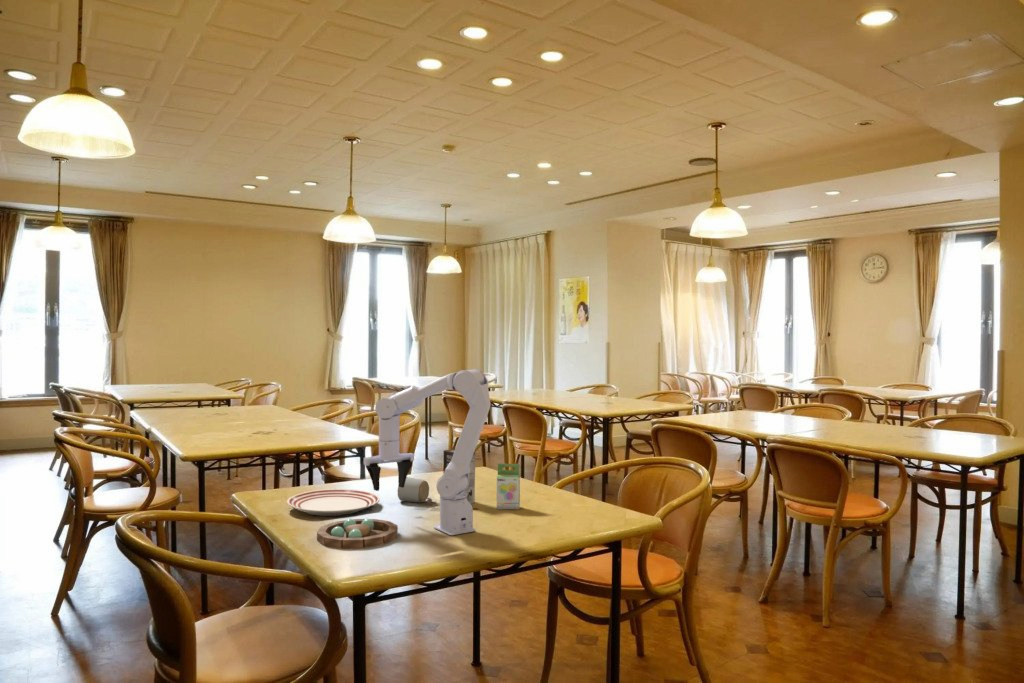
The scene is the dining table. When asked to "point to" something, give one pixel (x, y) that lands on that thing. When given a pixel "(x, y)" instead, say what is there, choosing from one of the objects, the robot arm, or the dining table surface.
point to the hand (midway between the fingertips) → (389, 488)
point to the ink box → (508, 487)
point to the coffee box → (471, 487)
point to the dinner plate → (333, 501)
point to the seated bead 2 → (355, 534)
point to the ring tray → (372, 540)
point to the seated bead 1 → (337, 532)
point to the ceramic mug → (414, 490)
